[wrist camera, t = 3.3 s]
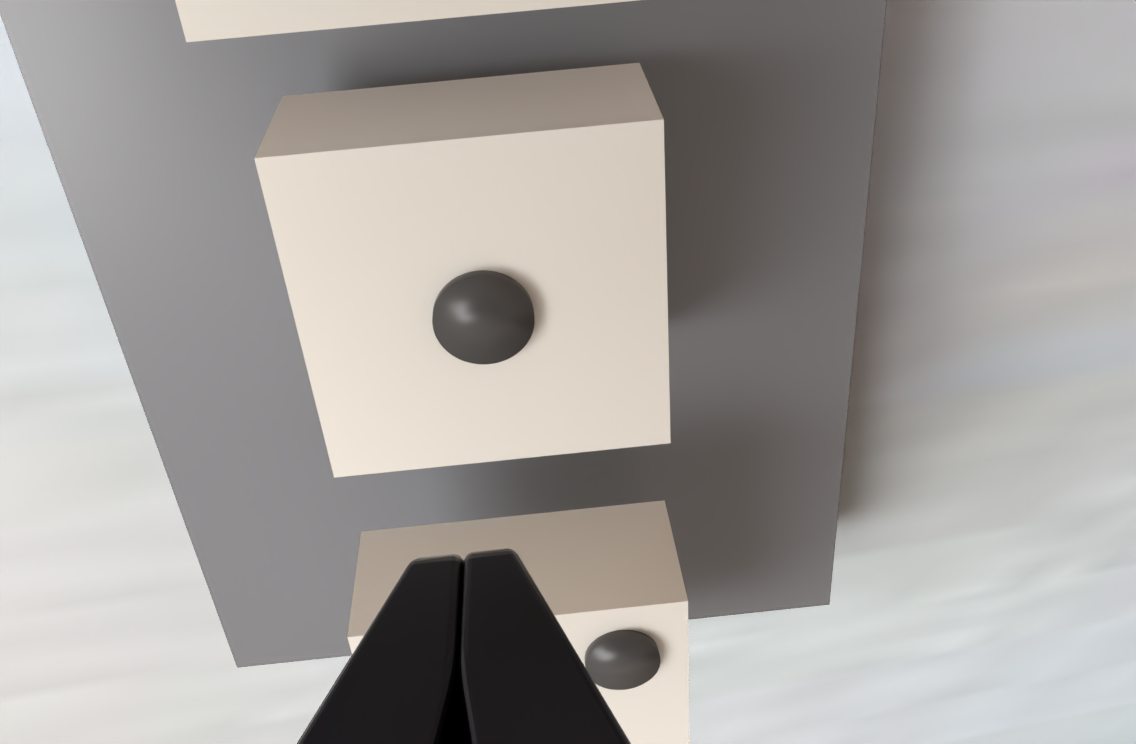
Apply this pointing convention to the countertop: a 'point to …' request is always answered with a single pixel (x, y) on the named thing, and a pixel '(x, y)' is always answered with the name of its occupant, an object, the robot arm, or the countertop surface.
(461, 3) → the two-dot button
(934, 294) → the countertop surface
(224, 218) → the button panel
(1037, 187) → the countertop surface
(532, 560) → the three-dot button
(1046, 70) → the countertop surface
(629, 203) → the one-dot button
